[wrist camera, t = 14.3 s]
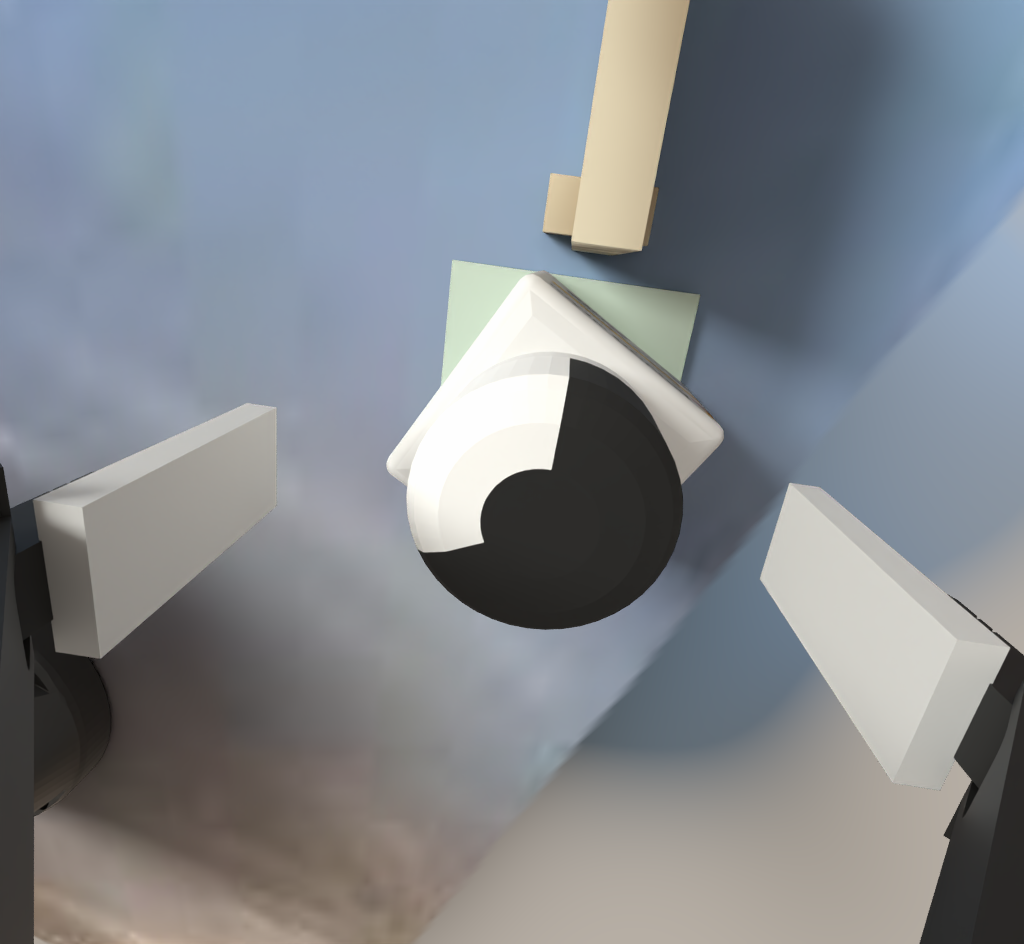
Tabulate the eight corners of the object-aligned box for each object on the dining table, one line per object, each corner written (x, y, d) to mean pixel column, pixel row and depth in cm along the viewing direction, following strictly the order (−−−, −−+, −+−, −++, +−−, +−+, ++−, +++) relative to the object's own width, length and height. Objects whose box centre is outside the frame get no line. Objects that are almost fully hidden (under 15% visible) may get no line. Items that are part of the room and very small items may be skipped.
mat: (433, 485, 28) (431, 488, 27) (454, 260, 24) (452, 260, 24) (646, 518, 27) (648, 522, 27) (698, 294, 24) (700, 295, 24)
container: (686, 386, 25) (796, 506, 13) (567, 516, 27) (564, 722, 15) (541, 266, 24) (507, 270, 12) (431, 413, 26) (309, 543, 14)
